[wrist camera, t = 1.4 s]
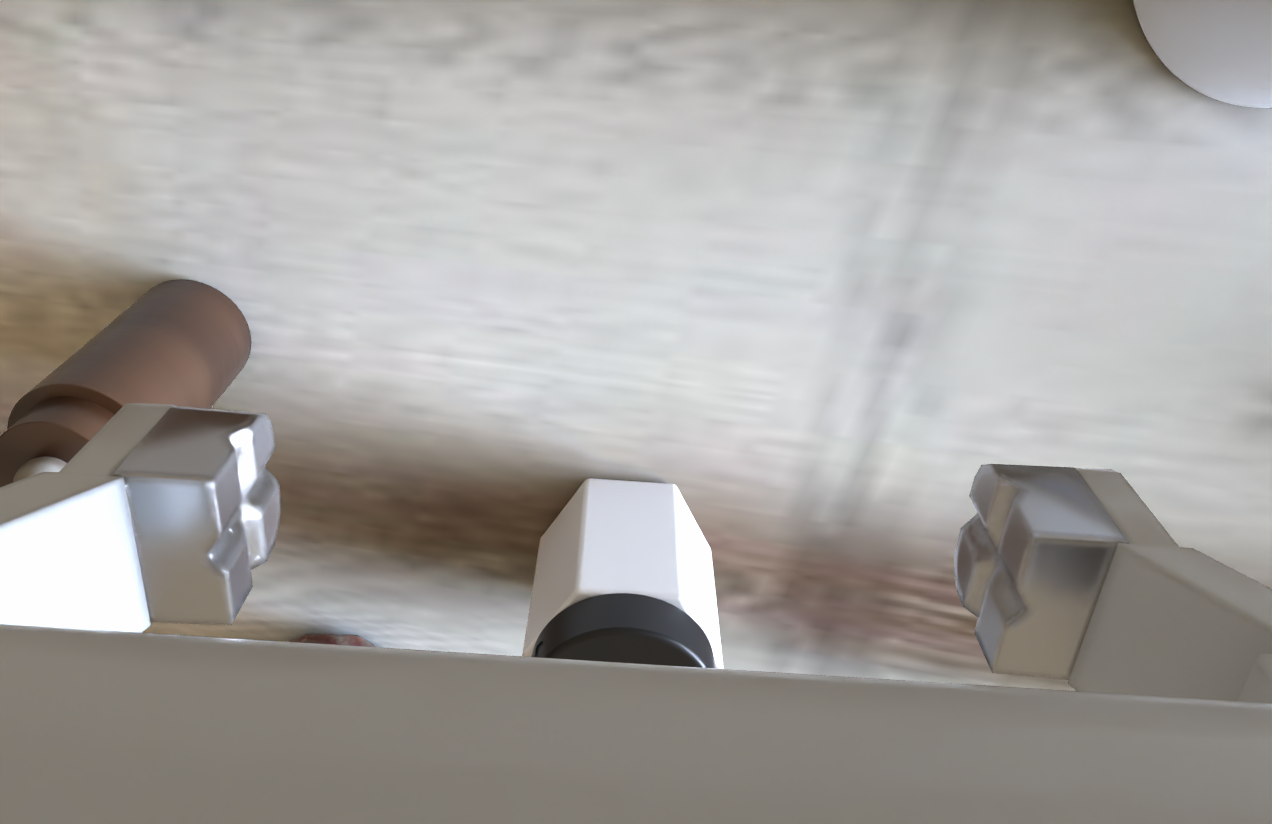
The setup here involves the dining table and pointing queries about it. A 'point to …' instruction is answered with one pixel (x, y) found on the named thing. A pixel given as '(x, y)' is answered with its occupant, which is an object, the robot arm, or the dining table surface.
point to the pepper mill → (129, 374)
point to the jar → (625, 580)
